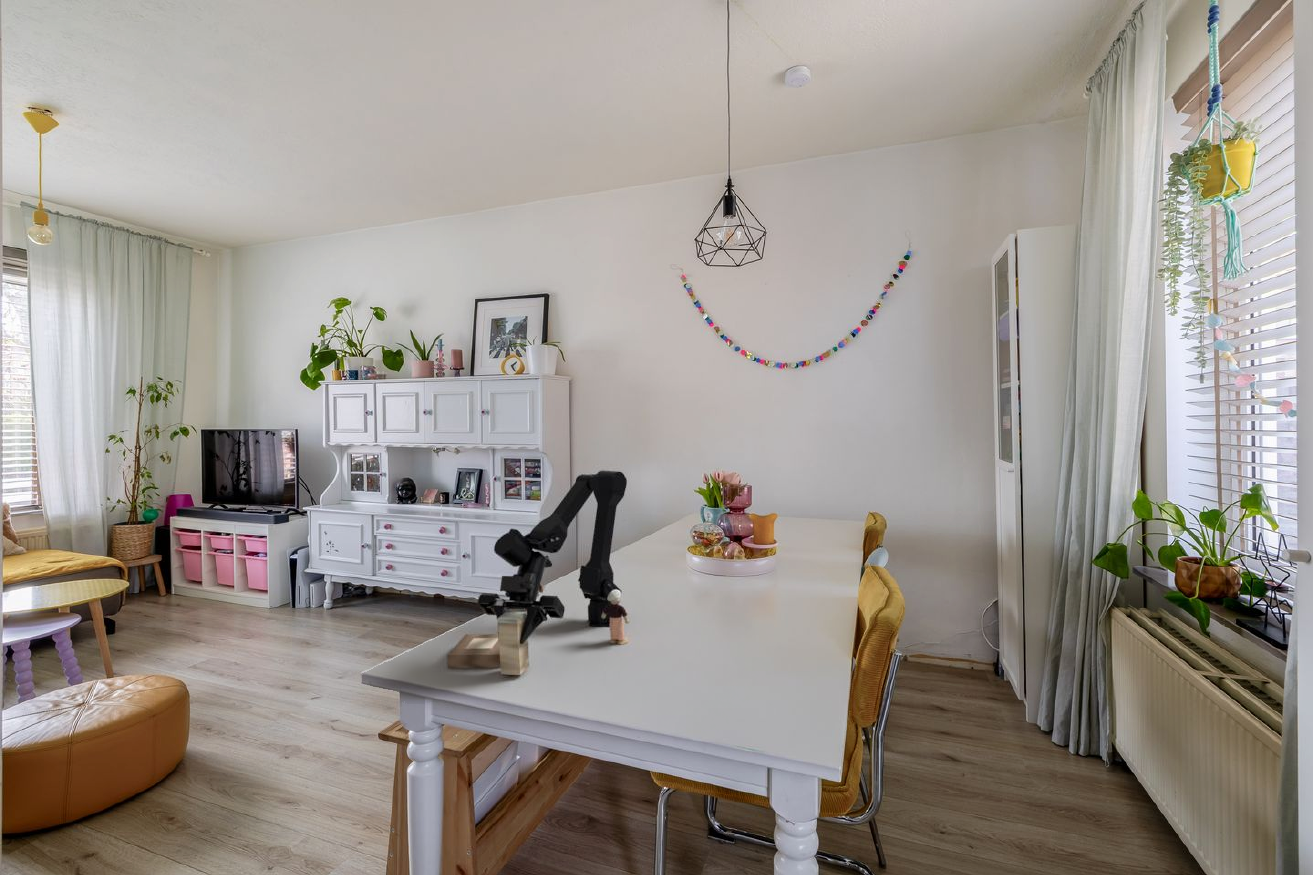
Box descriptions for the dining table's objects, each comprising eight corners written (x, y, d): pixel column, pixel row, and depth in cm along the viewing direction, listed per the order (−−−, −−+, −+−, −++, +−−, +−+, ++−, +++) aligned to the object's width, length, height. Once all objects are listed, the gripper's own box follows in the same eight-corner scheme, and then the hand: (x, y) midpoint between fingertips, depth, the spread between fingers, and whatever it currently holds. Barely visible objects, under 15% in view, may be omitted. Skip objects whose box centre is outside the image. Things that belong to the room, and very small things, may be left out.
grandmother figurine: (634, 639, 158) (632, 588, 157) (628, 646, 155) (626, 593, 154) (605, 637, 161) (602, 586, 160) (598, 643, 157) (596, 591, 156)
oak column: (510, 664, 145) (506, 611, 144) (529, 665, 144) (526, 611, 143) (500, 673, 140) (497, 618, 139) (520, 675, 139) (517, 619, 138)
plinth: (515, 645, 157) (515, 632, 157) (501, 667, 145) (500, 653, 145) (466, 646, 158) (465, 633, 158) (447, 668, 146) (446, 654, 146)
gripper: (477, 557, 146) (455, 624, 136) (556, 559, 142) (539, 628, 132) (496, 581, 154) (476, 646, 144) (571, 584, 150) (556, 650, 140)
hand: (510, 642), depth 140 cm, fingers closed on oak column, 4 cm apart
